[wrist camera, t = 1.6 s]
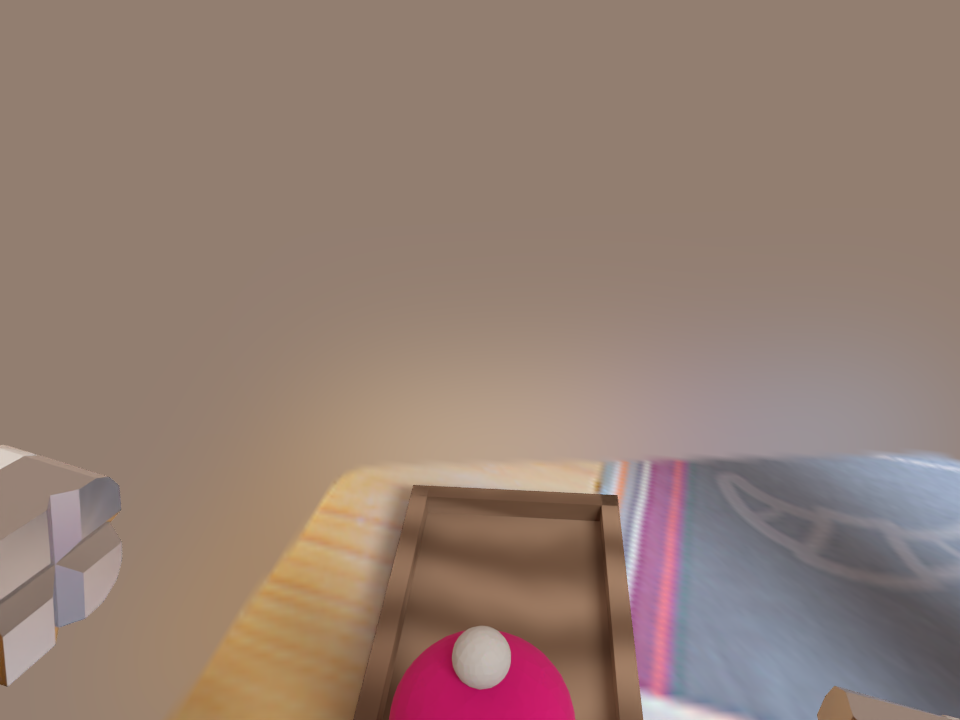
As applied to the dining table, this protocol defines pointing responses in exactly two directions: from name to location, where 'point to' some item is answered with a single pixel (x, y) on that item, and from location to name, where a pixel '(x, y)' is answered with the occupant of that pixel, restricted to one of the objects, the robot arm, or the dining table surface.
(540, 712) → the pepper mill
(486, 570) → the walnut tray
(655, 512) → the dining table surface
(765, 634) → the dining table surface
